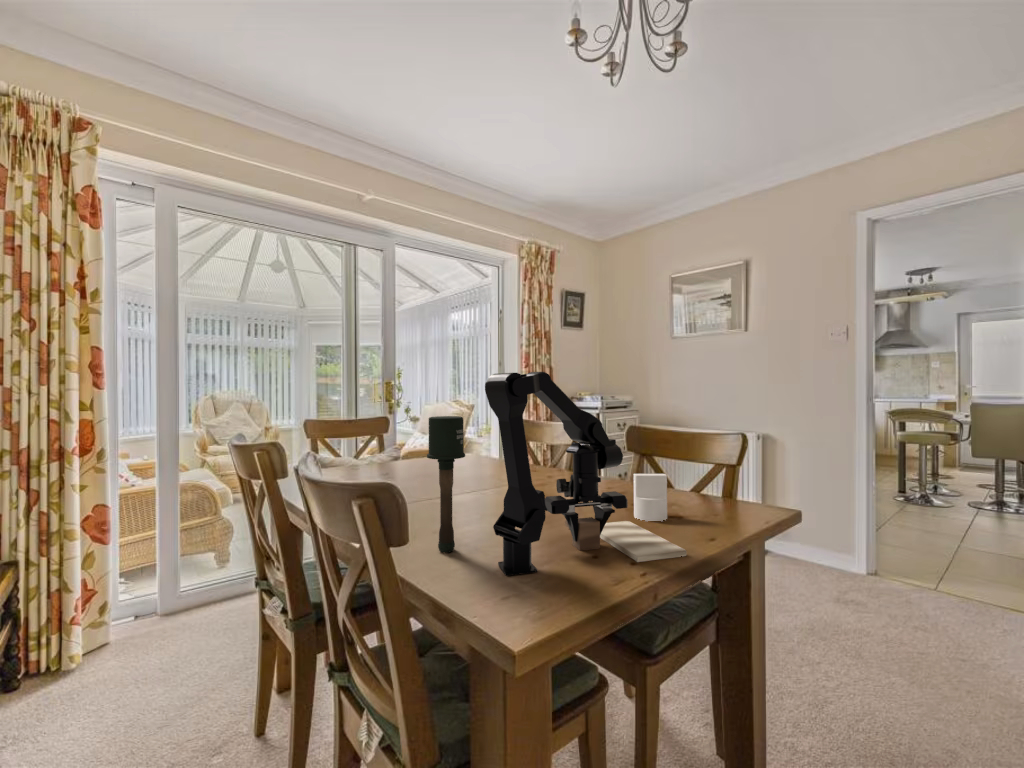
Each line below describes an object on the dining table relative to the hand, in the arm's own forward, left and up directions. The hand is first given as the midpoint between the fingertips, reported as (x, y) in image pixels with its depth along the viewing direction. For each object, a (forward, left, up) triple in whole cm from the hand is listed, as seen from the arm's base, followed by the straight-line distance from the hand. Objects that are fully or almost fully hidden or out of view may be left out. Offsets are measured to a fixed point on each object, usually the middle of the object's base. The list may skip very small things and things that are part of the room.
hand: (586, 539), depth 107 cm
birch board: (0, -12, -2) cm, 12 cm away
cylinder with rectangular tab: (+17, -28, -2) cm, 33 cm away
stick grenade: (+7, +31, -2) cm, 32 cm away
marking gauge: (+4, 0, -2) cm, 4 cm away
